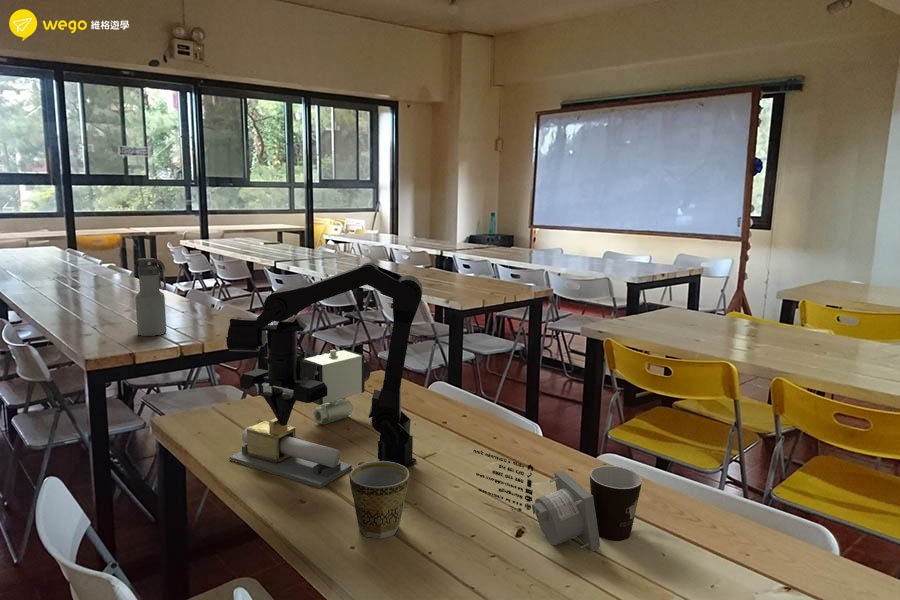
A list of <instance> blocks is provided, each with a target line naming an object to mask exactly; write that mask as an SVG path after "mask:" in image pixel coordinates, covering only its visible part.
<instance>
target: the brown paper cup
mask: <svg viewBox="0 0 900 600" xmlns="http://www.w3.org/2000/svg"><path fill="white" fill-rule="evenodd" d="M589 484H590V485H589V487H590V494H592V495H593V499H594V506H595V513H596V519H597V526H598V533H599V538H600V539H603V540H607V541H611V542H622V541H626V540H628V539H629V538H630V537H631V534H632V531H633V530H632V529H633V525H634V521H635V515H636V511H637V506H638V502H639V497H640V494H641V488H642V484H643V478H642V476H640V475H639V473H637V472H636V471H634V470H632V469H628V468H626V467H622V466H618V465H616V466H615V465H602V466H601V465H600V466H597V467H594V468H592V469H591V470H590V472H589Z"/></svg>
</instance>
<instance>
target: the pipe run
mask: <svg viewBox="0 0 900 600" xmlns="http://www.w3.org/2000/svg"><path fill="white" fill-rule="evenodd" d="M249 427H252V426H251V425H250V426H247V427H246V428H245V429H244V430H243V432H242V435H241V436H242V437H241V439H242V442H243V443H244V445H241V451H239V452H236V453H234V454H232V455H230V456H229V457H228V458H229V460H230V459H231V460H234V461H237V462H239V463H238V464H240V463H243V464H245V465H244V466H247V465H248V467H250V466H251V467H250V468H254V469H256V468H257V469H256V470H261V471H263V472H266V473H269V474H273V475H276V476H279V475H280V477H282V476H283V477H284V478H286V477H287V478H286V479H290V480H293V481H296V482H300V483H302V484H306V485H309V486H312V487H316V488H319V489H322V488H323V487H324V486H327V485H328V484H329V483H331V482H332V481H334V480H336V479H337V478H339V477H340V476H342V475H344V474H345V473H347V472H350V470H352V469H353V465H352V464H350V463H348V462H347V463H346V462H343V461H340V459H341V453H340V450H339V449H337V448H333V447H330V446H325V445H321V444H319V443H314V442H311V441H307V440H303V439H299V438H293V437H289V436H283V437H281V438H279V439H278V440H279V453H282V454H286V455H289V456H290V457H288V458H286V459H284V460H282V461H280V462H279V463H273V462H270V461H267V460H263V459H260V458H256V457H253V456H250V455H248V452H247V428H249ZM234 461H233V462H234ZM237 462H236V463H237ZM243 464H242V465H243Z"/></svg>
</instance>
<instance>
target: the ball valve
mask: <svg viewBox="0 0 900 600" xmlns="http://www.w3.org/2000/svg"><path fill="white" fill-rule="evenodd" d="M302 362H308V363H313V364H317V369H316V373H315V378H314V379H312V378H310V377H304V379H303V380H301V381H300V380H298V381H297V382H298V383H304V382H306V381H309V380H314V381H319V382H324V383H325V384H326V385H327V396H325V397H323V398H321V399H318V400H316V401H314V402H312V403H313V404H315V405H316V406H315V407H316V408H315V409H314V411H313V419H314V420H315V422H316V423H317V424H321V425H322V424H323V425H327V424H330V423H333V422H337V421H339V420H344V419H346V418H348V417H349V416H351V415H352V414H353V411H354V408H353V403H352V401H350V400H348V399H347V398H350V397H352V396H355V395H361V394H363V393H365V391H366V390H365V388H366V382H367V381H369V379H370V377H371V366H370V363H369V362H368V360H367V359H366V358H365V354H362V353H359V352H355V351H352V350H349V349H343V350H340V351H338V350H336V349H332V350H331V349H330V350H329V353H326V352H325V353H323V354H321V355H320V354H317V355H315V356H311V357H307V358H302Z"/></svg>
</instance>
